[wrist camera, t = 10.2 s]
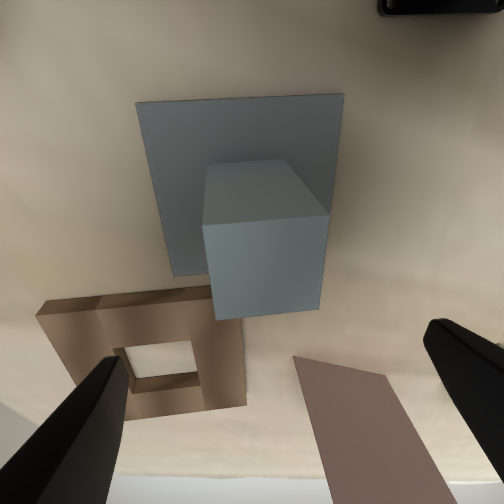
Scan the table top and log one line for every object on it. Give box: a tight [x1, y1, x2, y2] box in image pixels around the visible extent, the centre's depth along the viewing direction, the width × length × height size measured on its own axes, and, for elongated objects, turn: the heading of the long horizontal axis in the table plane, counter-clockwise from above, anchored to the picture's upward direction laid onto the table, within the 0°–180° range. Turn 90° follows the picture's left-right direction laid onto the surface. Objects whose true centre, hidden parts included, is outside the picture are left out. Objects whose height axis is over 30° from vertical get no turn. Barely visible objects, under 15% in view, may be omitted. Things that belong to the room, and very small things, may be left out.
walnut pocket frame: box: [35, 286, 247, 421], centre depth 25 cm, size 14×14×2 cm
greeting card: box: [293, 356, 457, 504], centre depth 23 cm, size 11×7×15 cm, turn 31°
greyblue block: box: [202, 159, 330, 320], centre depth 15 cm, size 4×4×8 cm
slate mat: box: [135, 93, 344, 277], centre depth 18 cm, size 11×11×1 cm
